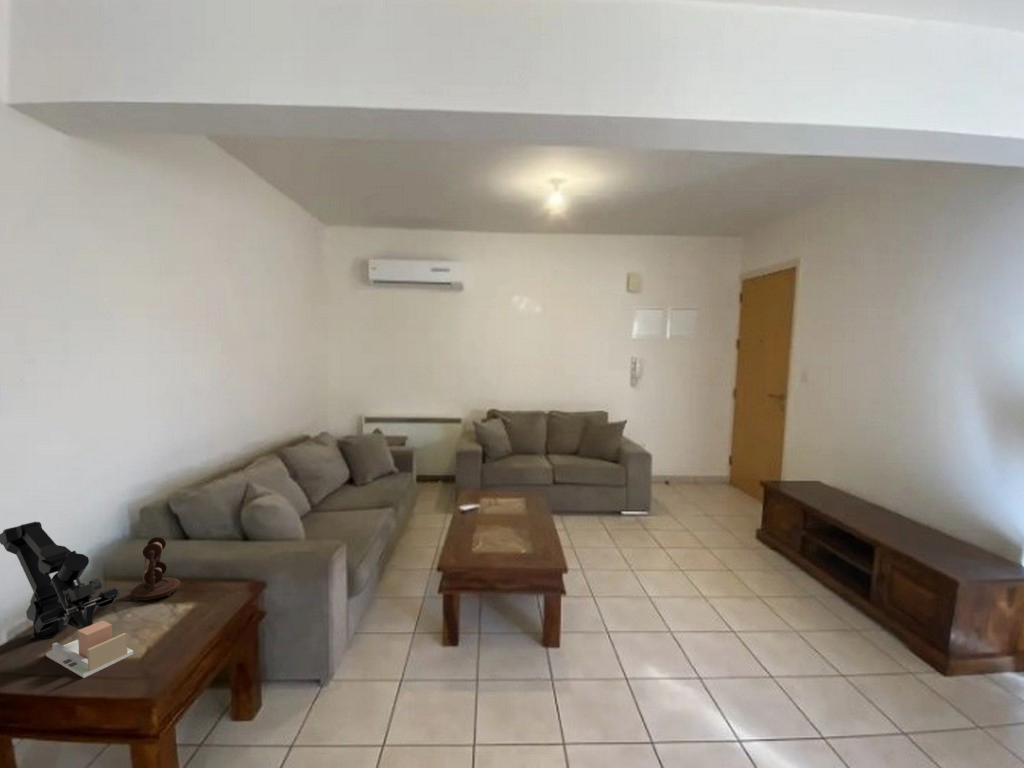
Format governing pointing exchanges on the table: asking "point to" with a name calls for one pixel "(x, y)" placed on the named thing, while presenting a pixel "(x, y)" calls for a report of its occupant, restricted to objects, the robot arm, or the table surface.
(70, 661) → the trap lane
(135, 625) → the table surface
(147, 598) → the brown upright piece
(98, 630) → the slider block
